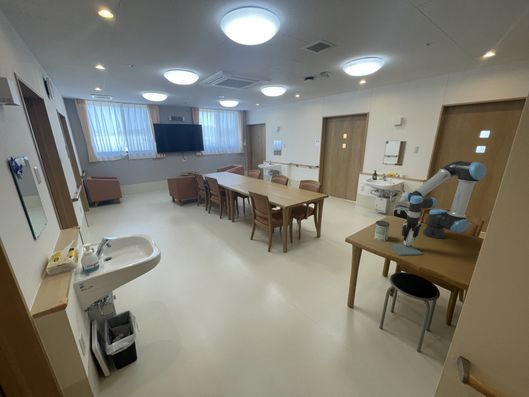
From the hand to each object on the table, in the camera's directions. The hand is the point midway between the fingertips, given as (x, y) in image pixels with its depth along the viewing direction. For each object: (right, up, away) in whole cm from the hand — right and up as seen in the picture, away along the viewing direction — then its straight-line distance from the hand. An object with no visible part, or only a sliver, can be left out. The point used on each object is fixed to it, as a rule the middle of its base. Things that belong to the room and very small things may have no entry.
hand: (408, 244), depth 166 cm
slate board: (-5, -4, -3) cm, 7 cm away
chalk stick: (0, -1, 0) cm, 1 cm away
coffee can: (-12, +1, +17) cm, 21 cm away
